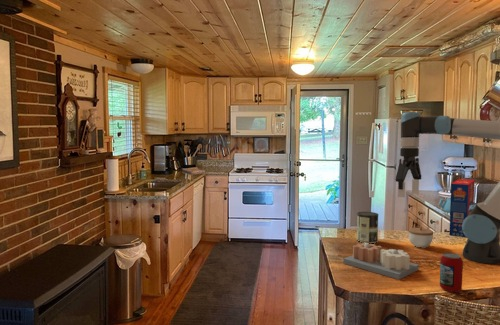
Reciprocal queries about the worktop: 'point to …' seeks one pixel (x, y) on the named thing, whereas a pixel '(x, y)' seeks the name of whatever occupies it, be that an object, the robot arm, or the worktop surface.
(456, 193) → the pasta box
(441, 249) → the worktop surface
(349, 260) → the gear board
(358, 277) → the worktop surface
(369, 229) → the coffee can
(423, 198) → the worktop surface
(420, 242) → the lidded jar
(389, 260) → the cream gear
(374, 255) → the rust gear
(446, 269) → the beverage can
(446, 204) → the teapot
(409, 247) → the worktop surface
